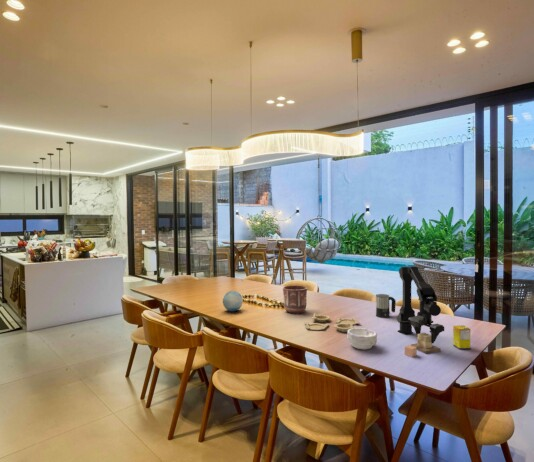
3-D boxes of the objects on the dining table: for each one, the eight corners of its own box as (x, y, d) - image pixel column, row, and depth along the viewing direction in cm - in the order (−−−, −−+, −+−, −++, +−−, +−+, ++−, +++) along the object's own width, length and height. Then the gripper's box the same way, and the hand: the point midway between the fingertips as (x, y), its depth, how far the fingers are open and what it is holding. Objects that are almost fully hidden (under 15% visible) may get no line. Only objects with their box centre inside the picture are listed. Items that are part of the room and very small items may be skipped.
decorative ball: (245, 308, 262) (244, 289, 261) (240, 314, 247) (239, 293, 246) (226, 308, 264) (226, 288, 264) (220, 313, 249) (220, 292, 249)
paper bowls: (381, 345, 182) (381, 331, 182) (368, 354, 171) (368, 338, 171) (355, 339, 193) (355, 325, 192) (341, 347, 181) (341, 332, 181)
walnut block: (410, 348, 180) (410, 344, 180) (424, 345, 184) (424, 341, 184) (425, 355, 171) (425, 351, 171) (440, 352, 175) (440, 348, 175)
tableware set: (360, 321, 229) (360, 315, 228) (360, 335, 200) (360, 328, 200) (308, 317, 238) (308, 311, 238) (301, 330, 210) (301, 324, 210)
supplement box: (463, 345, 182) (463, 325, 182) (470, 349, 176) (470, 328, 176) (452, 345, 182) (452, 325, 182) (459, 349, 176) (459, 328, 176)
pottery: (301, 307, 264) (300, 284, 263) (311, 313, 247) (310, 288, 247) (279, 309, 258) (279, 286, 258) (288, 315, 242) (288, 290, 241)
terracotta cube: (404, 354, 170) (404, 346, 170) (409, 352, 173) (409, 345, 173) (412, 357, 167) (412, 349, 167) (416, 355, 169) (416, 347, 169)
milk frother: (381, 318, 233) (381, 297, 232) (366, 313, 247) (366, 292, 247) (397, 316, 238) (397, 295, 238) (381, 310, 253) (382, 291, 252)
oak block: (417, 345, 179) (417, 334, 179) (424, 343, 181) (424, 332, 181) (425, 348, 174) (425, 337, 174) (432, 347, 176) (432, 335, 176)
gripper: (400, 308, 183) (400, 336, 183) (428, 317, 165) (428, 348, 166) (416, 305, 187) (415, 334, 187) (445, 314, 169) (445, 345, 170)
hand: (425, 340), depth 177 cm, fingers open, 9 cm apart
